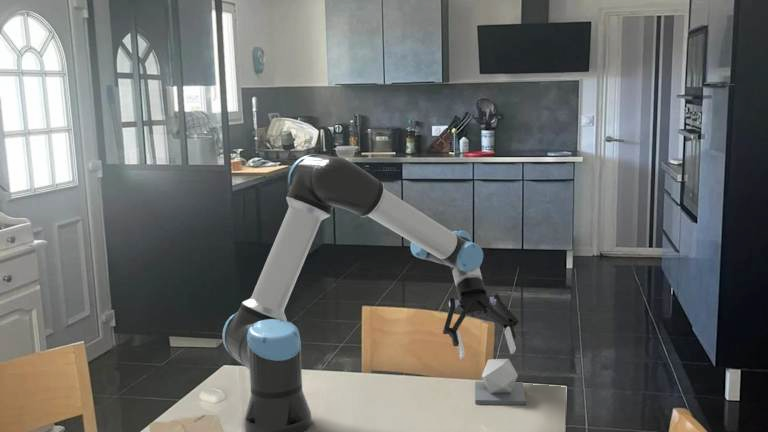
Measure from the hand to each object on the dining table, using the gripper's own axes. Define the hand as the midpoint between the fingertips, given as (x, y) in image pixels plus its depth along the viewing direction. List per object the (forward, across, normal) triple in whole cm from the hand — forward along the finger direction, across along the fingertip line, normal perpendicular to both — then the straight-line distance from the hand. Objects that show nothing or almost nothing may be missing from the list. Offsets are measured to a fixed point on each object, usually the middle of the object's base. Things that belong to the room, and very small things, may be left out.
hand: (488, 354), depth 200 cm
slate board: (+11, 0, 0) cm, 11 cm away
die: (+10, 0, -1) cm, 11 cm away
